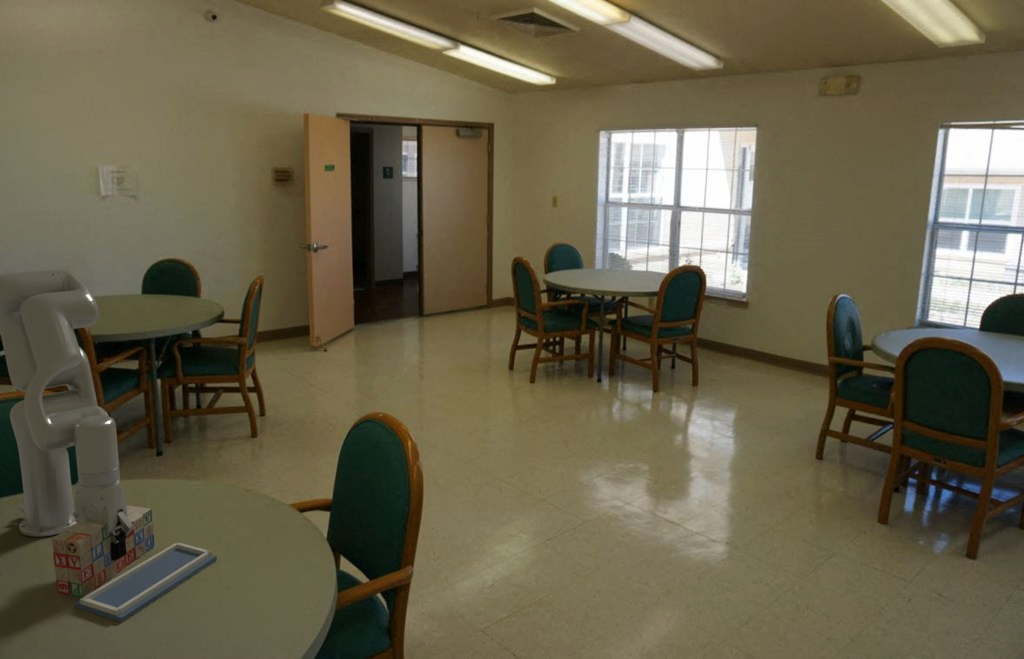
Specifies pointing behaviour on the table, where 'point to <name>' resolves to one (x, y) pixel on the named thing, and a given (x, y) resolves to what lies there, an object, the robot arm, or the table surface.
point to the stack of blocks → (97, 552)
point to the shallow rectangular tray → (146, 582)
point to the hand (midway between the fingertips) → (105, 553)
